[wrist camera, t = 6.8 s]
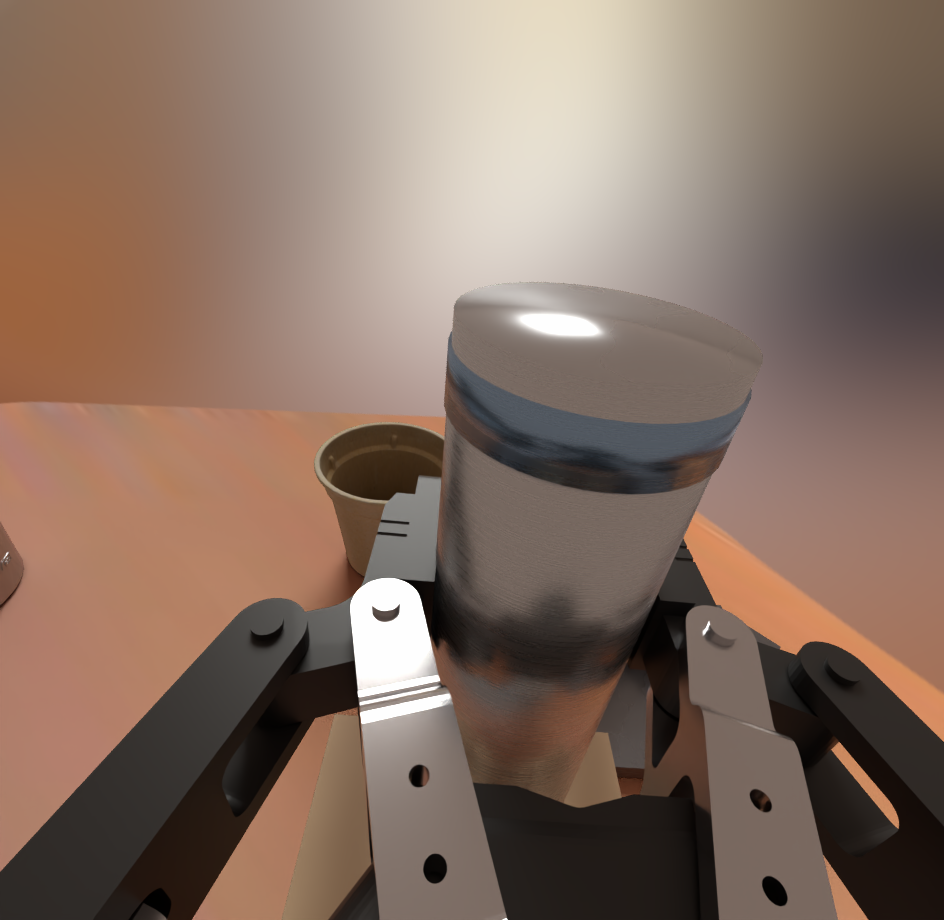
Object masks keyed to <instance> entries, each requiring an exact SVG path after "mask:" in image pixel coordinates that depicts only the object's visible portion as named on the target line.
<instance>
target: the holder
mask: <svg viewBox="0 0 944 920" xmlns="http://www.w3.org/2000/svg"><path fill="white" fill-rule="evenodd" d="M618 798H622V797H621V792H620V787H619V783H618V778H617V773H616V769H615V764H614V759H613V755H612V750H611V745H610V741H609V736H608V733H603V732H595V735H594V737H593V739H592V741H591V743H590V746H589V748H588V750H587V752H586V754H585V757H584V759H583V761H582V763H581V766H580V768H579V770H578V772H577V774H576V777H575V779H574V781H573V783H572V785H571V788H570V790H569V792H568V794H567V797H566V799H565V801H564V803H565V804H568V805H570V806H573V807H579V808H581V807H587V806H591V805H595V804H599V803H603V802H607V801H611V800H614V799H618ZM370 864H371V862H370V851H369V840H368V828H367V816H366V804H365V791H364V778H363V767H362V755H361V744H360V732H359V721H358V716H353V715H338V714H335V715H334V719H333V723H332V727H331V730H330V734H329V738H328V742H327V746H326V750H325V754H324V757H323V761H322V765H321V769H320V773H319V777H318V781H317V784H316V788H315V792H314V796H313V800H312V804H311V808H310V811H309V815H308V819H307V823H306V827H305V831H304V835H303V838H302V842H301V846H300V850H299V854H298V858H297V862H296V865H295V869H294V873H293V877H292V881H291V885H290V889H289V892H288V896H287V900H286V904H285V908H284V912H283V916H282V919H281V920H328V919H329V918H330V916H331V915H332V914H333V912H334V911H335V910H336V909H337V907H338V906H339V905H340V903H341V902H342V901H343V899H344V898H345V897H346V896H347V894H348V893H349V892H350V890H351V889H352V888H353V887H354V885H355V884H356V883H357V881H358V880H359V879H360V877H361V876H362V875H363V874H364V872H365V871H366V870H367V868H368V867H369V866H370Z"/></svg>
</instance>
